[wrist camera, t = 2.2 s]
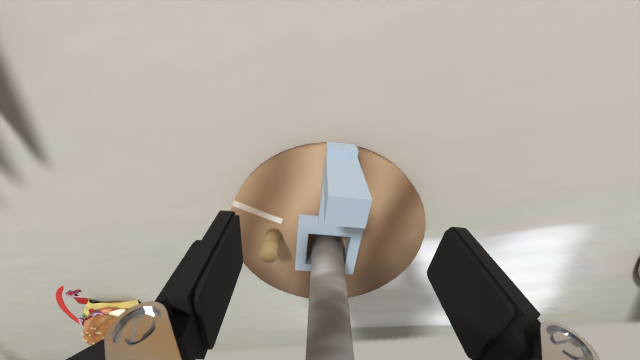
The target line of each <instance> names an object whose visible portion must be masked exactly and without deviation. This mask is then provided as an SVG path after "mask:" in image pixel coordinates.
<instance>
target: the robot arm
mask: <svg viewBox="0 0 640 360" xmlns="http://www.w3.org/2000/svg"><path fill="white" fill-rule="evenodd" d="M242 264H243V253H242V241H241V229H240V217H239V215H235V212H234V211H222V210H221V211H220V212H219V213H218V215H217V216H216V218H215V220H214V221H213V223H212V224H211V226H210V228H209V229H208V231H207V232H206V234H205V236H204V237H203V239H202V240H196V241H195V242H194V243H193V244H192V245H191V247H190V248H189V250H188V251H187V253H186V254H185V256H184V258H183V259H182V261H181V262H180V264H179V265H178V267H177V268H176V270H175V271H174V273H173V274H172V276H171V277H170V279H169V280H168V282H167V283H166V285H165V286H164V288H163V289H162V291H161V292H160V294H159V295H158V297H157V299H156V300H155V302H153V301H150V302H143V303H140V304H138V305H135V306H133V307H131V308H129V309H128V310H126V311H124V312H123V313H122V314H121V315H119V316H118V317H117V318H116V319H115V320H114V321H113V323H112V324H111V325H110V326H109V328H108V330H107V332H106V334H105V338H104V339H102V340H100V341H99V342H97V343H95V344H93V345H91V346H90V347H88V348H86V349H84V350H82V351H81V352H79V353H77V354H75V355H74V356H72V357H70V358H68V359H66V360H195V359H204V358H205V355H206V353H207V350H208V349H212V348H213V347H214V344H215V342H216V339H217V336H218V333H219V330H220V327H221V325H222V322H223V319H224V316H225V313H226V310H227V308H228V305H229V302H230V299H231V296H232V293H233V291H234V288H235V285H236V282H237V279H238V276H239V274H240V271H241V268H242ZM638 272H639V277H640V264H639V268H638ZM427 276H428V279H429V281H430V283H431V285H432V287H433V289H434V291H435V293H436V295H437V297H438V299H439V301H440V303H441V305H442V307H443V309H444V311H445V313H446V315H447V317H448V319H449V321H450V323H451V325H452V327H453V329H454V331H455V333H456V335H457V337H458V339H459V341H460V343H461V345H462V347H463V349H464V351H465V353H466V354H467V356H468V357H469V358H470V359H472V360H600V359H599V357H598V355H597V353H596V352H595V350H594V349H593V348H592V346H591V345H590V344H589V343H588V342H587V341H586V340H585V339H584V338H583V337H581V336H580V335H579V334H577V333H576V332H575V331H573V330H572V329H570V328H568V327H567V326H565V325H562V324H560V323H558V322H554V321H544V322H542V323H540V322H539V320H538V319H537V318H538V317H539V316H540V315H541V314H540V313H539V312H538V311H537V310H536V309H535V307H534V306H533V305H532V304H531V303H530V302H529V301H528V299H527V298H526V297H525V296H524V295H523V294H522V292H521V291H520V290H519V289H518V288H517V287H516V285H515V284H514V283H513V282H512V281H511V280H510V279H509V277H508V276H507V275H506V274H505V273H504V272H503V270H502V269H501V268H500V267H499V266H498V265H497V263H496V262H495V261H494V260H493V259H492V258H491V257H490V255H489V254H488V253H487V252H486V251H485V250H484V248H483V247H482V246H481V245H480V244H479V243H478V241H477V240H476V239H475V238H474V237H473V236H472V235H471V233H470V232H469V231H468V230H467V229H466V228H459V227H451V228H449V230H446V231H445V233H444V235H443V238H442V240H441V242H440V244H439V246H438V248H437V251H436V253H435V255H434V257H433V259H432V261H431V263H430V266H429V268H428V270H427Z"/></svg>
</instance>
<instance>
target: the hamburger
mask: <svg viewBox="0 0 640 360" xmlns="http://www.w3.org/2000/svg"><path fill="white" fill-rule="evenodd" d="M63 289H64V288H63V286H62V287H60V288H59V289H58V290H57V292H56V300H57V303H58V305H59V306H60V308H61V309H62V310H63V311H64V312H65V313H66V314H67V315H68V316H69V317H70V318H72V319H73V320H74V321H76V322H77V323H79V324H80V325H81V326H82V327H83V334H82V333H81V334H82V335H83V339H84V340H85V341H86V343H87V344H89V345H90V346H91V345H93V344H95V343H97V342H99V341H100V340H102V339H104V338H105V334H106V332H107V330H108V328H109V326H110V325H111V324H112V323H113V321H114V320H115V319H116V318H117V317H118V316H119V315H121V314H122V313H123V312H124V311H126V310H128V309H129V308H131V307H133V306H135V305H138V304H139V303H138V301H137V299H135V300H131V301H126V302H124V301H112V302H108V303H94V304H93V303H90V302H89V301H90V299H89V301H88V298H80V297H82V296H78V295H77V294H75V293H76V291H77V292H82V291H81V290H75V291H70V290H69V292H67V293H66V296H68V297H73V298H74V299H75V300H77V302H78V303H81V304H86V306H85V307H87V309H86V308H84V313H83V315H82V316H83V318H79V319H78V318H76V317H75V316H74V315H73V314H72V313H71V312H70V311H69V310H68V309H67V307H66V306H65V304H64V302H63V299H62V291H63ZM84 314H85V315H84ZM85 316H86V317H85ZM81 319H82V320H83V322H82V321H81Z"/></svg>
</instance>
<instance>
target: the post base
mask: <svg viewBox="0 0 640 360" xmlns="http://www.w3.org/2000/svg"><path fill="white" fill-rule="evenodd" d="M326 146H327V142H323V143H312V144H306V145H302V146H297V147H294V148H291V149H288V150H286V151H283V152H281V153H279V154H277V155H275V156H273V157H271V158H270V159H268V160H267V161H265V162H264V163H263V164H261V165H260V166H259V167H258V168H257V169H256V170H255V171H254V172H253V173H251V175H250V176H249V177H248V179H247V180H246V181H245V183H244V184H243V186H242V187H241V189H240V191H239V192H238V194H237V196H236V198H235V200H234V202H233V205H232V209H231V211H234V212H235V215H239V217H240V229H241V241H242V253H243V262H244V264H245V265H246V266H247V267H248V268H249V269H250V270H251V271H252V272H253V273H254V274H255V275H256V276H257V277H259V278H260V279H261V280H263V281H264V282H266V283H267V284H269V285H271V286H273V287H275V288H277V289H279V290H282V291H284V292H287V293H290V294H293V295H296V296H301V297H306V298H309V310H308V328H307V346H306V360H354V355H353V345H352V335H351V325H350V316H349V306H348V297H353V296H358V295H361V294H364V293H367V292H370V291H373V290H375V289H377V288H380V287H381V286H383V285H385V284H387V283H389V282H390V281H391V280H393V279H394V278H396V277H397V276H398V275H399V274H401V273H402V272H403V271H404V270H405V269H406V268H407V267H408V266H409V264H410V263H411V262H412V261H413V259H414V258H415V256H416V255H417V253H418V251H419V249H420V247H421V244H422V241H423V238H424V233H425V213H424V208H423V204H422V202H421V199H420V197H419V195H418V193H417V191H416V190H415V188H414V186H413V185H412V183H411V182H410V180H409V179H408V178H407V177H406V176H405V174H404V173H403V172H402V171H401V170H400V169H399V168H398V167H397V166H395V165H394V164H393V163H392V162H391V161H389V160H387V159H386V158H384V157H383V156H381V155H379V154H377V153H375V152H372V151H370V150H368V149H365V148H362V147H358V146H357V148H358V151H359V152H358V160H359V163H360V166H361V169H362V171H363V174H364V177H365V180H366V183H367V186H368V189H369V192H370V194H371V197H372V203H371V208H370V212H369V216H368V220H367V224H366V228H365V229H363V234H362V238H361V242H360V246H359V250H358V255H357V259H356V263H355V267H354V271H353V274H345V267H344V258H343V255H344V250H345V245H346V241H347V237H344V236H332V235H320V234H308V242H307V252H306V253H312V257H311V271H301V270H295V262H296V248H297V233H298V222H299V215H300V214H304V215H315V216H318V213H319V205H320V196H321V188H322V180H323V171H324V163H325V154H326Z"/></svg>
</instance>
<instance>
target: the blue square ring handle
mask: <svg viewBox="0 0 640 360" xmlns="http://www.w3.org/2000/svg"><path fill="white" fill-rule="evenodd" d="M358 152H359V151H358V148H357V145H356V144H346V143H336V142H327V146H326V154H325V163H324V171H323V180H322V188H321V196H320V205H319V213H318V216H315V215H304V214H300V215H299V222H298V233H297V248H296V262H295V270H301V271H311V257H312V253H306V252H307V242H308V234H320V235H332V236H344V237H347V241H346V245H345V250H344V255H343V258H344V267H345V274H353V271H354V267H355V263H356V259H357V255H358V250H359V246H360V242H361V238H362V234H363V229H365V228H366V224H367V220H368V216H369V212H370V208H371V203H372V197H371V194H370V192H369V189H368V186H367V183H366V180H365V177H364V174H363V171H362V169H361V166H360V163H359V160H358Z"/></svg>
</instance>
